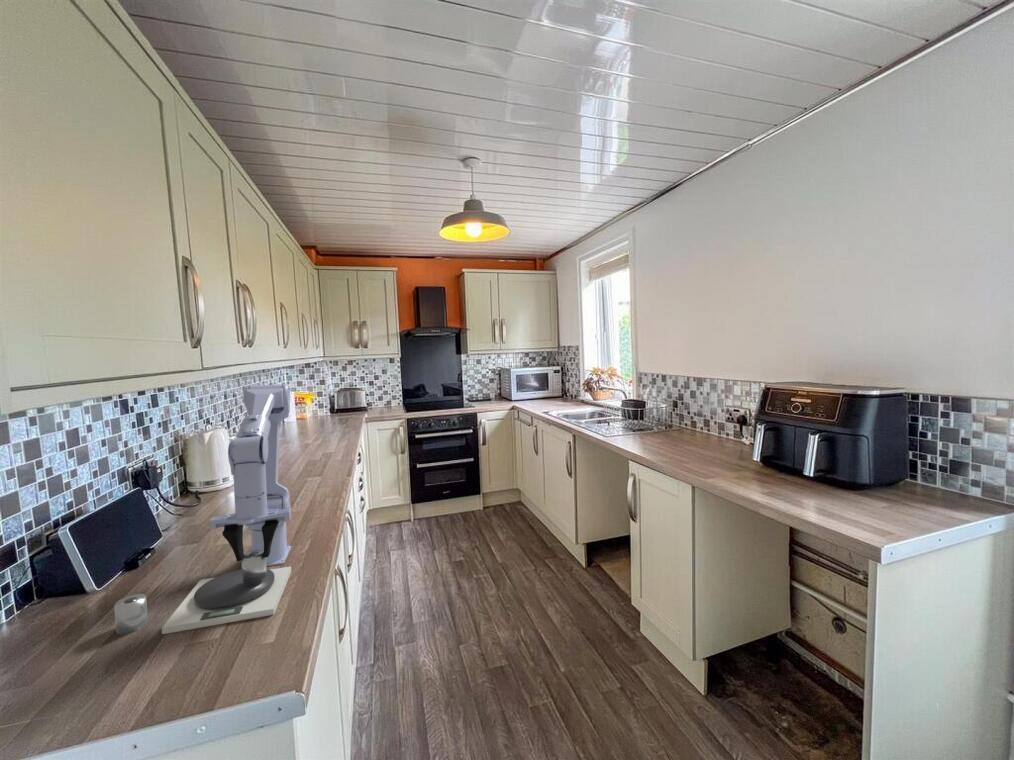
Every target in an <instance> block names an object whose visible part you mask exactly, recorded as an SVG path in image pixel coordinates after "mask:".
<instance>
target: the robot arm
mask: <svg viewBox="0 0 1014 760" xmlns="http://www.w3.org/2000/svg"><path fill="white" fill-rule="evenodd" d="M290 391H291V390H290V386H289V385H288V384H287V383H284V384H267V385H266V384H262V385H261V384H260V385H259V384H258V385H251V384H247V385H246V386H245V387H244V389H243V405H244V406H245V408H246V413H247V416H246V417H244V418H243V419H242V421H241V423H240V426H239V429H238V433H237V435H236V437H235V438H234V439H233V440H232V439H231V440H230V441H229V442H228V447H227V455H228V456H227V457H228V462H229V463H228V464H229V465H230V473H231V475H232V476H233V492H234V509H235V510H234V513H229V514H224V515H220V516H213V517H212V518H210V519H209V530H216V529H218V528H223V531H222V536H223V538H224V539H225V540H226V541H227V543H228V544H229V545H230V547H231V549H232V551H233V553H234V557H235V559H236V562H242V559H241V556H242V555H243V554H244V553H245V552H244V551H245V549H244V541H243V540H244V539H243V537H244V533H243V532H244V526H245V527H247V528H248V530H249V531H250V544H251V550H256V549H264V558H265V557H266V566H267V567H270V566H278V565H284V564H285V562H286V560H287V558H288V555H289V554H290V551H291V549H292V545H288V540H287V537H288V535H287V523H286V522H288V521H290V520H291V519H292V508H291V506H292V505H291V498H290V496H291V494H290V493H291V492H290V491H289V489H288V487H286V486H284V485H282V484H280V483H279V461H280V460H279V459H280V458H279V456H280V430H281V425H282V422H283V420H285V419H287V418H289V416H290V415H289V414H290V409H291V406H290V405H291V392H290Z"/></svg>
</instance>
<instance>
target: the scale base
mask: <svg viewBox="0 0 1014 760" xmlns="http://www.w3.org/2000/svg"><path fill="white" fill-rule="evenodd" d="M269 570H271V571H272V572H273V573H274V578H275V579H274V583H273V585H272V586H271V587H270V588H269V589H268V590H267V591H265V592H264V593H263V594H261V595H259V596H258V597H256V598H254V599H252V600H249V601H247V602H244V603H241V604H238V605H235V606H231V607H226V608H219V609H205V608H201V607H198V606H197V605H196V604H195V602H194V594H195V592H196V591H197V590H198V589H199V588H200V587H201V586H202V585H203V584H205V583H206V582H208V581H210V580H212V579H214V578H215V577H211V578H210V577H209V578H202V579H200V580H199V581H198V582H197V584H196V585H194V587H193V588H192V589H191V591H190V592H189V593H188V595H187V596H186V597H184V599H183V601H182V602H181V603H180V605H179V606H178V607H177V608H176V609H175V611H174V612H173V613H172V614H171V616H170V617H169V618H168V619H167V621H166V622H164V624H163V626H162V627H161V634H162V635H165V634H172V633H177V632H184V631H188V630H189V631H190V630H194V629H199V628H205V627H206V628H207V627H210V626H211V627H212V626H217V625H223V624H228V623H234V622H240V621H246V620H251V619H257V618H263V617H268V616H274V615H275V613H276V610H277V608H278V606H279V603H280V600H281V598H282V596H283V594H284V591H285V589H286V585H287V584H288V580H289V578H290V576H291V573H292V566H285V567H278V568H271V569H269Z"/></svg>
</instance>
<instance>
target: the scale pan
mask: <svg viewBox="0 0 1014 760" xmlns="http://www.w3.org/2000/svg"><path fill="white" fill-rule="evenodd" d="M213 578H214V579H212V580H210V581H208V582H206V583H205V584H203V585H202V586H201V587H200V588H199V589H198V590H197V591H196V592H195V594H194V602H195V604H196V605H197V606H198V607H201V608H205V609H219V608H226V607H231V606H235V605H238V604H241V603H244V602H247V601H249V600H252V599H254V598H256V597H258V596H259V595H261V594H263V593H264V592H265V591H267V590H268V589H269V588H270V587H271V586H272V585H273V583H274V579H275V578H274V573H273V572H272V571H271V570H270V569H269V568H267V575H266V577H265V578H263V579H261V580H259V581H256V582H251V583H245V582H243V580H242V568H241V569H237V570H233V571H229V572H226V573H223V574H221V575H218V576H217V577H213Z"/></svg>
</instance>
